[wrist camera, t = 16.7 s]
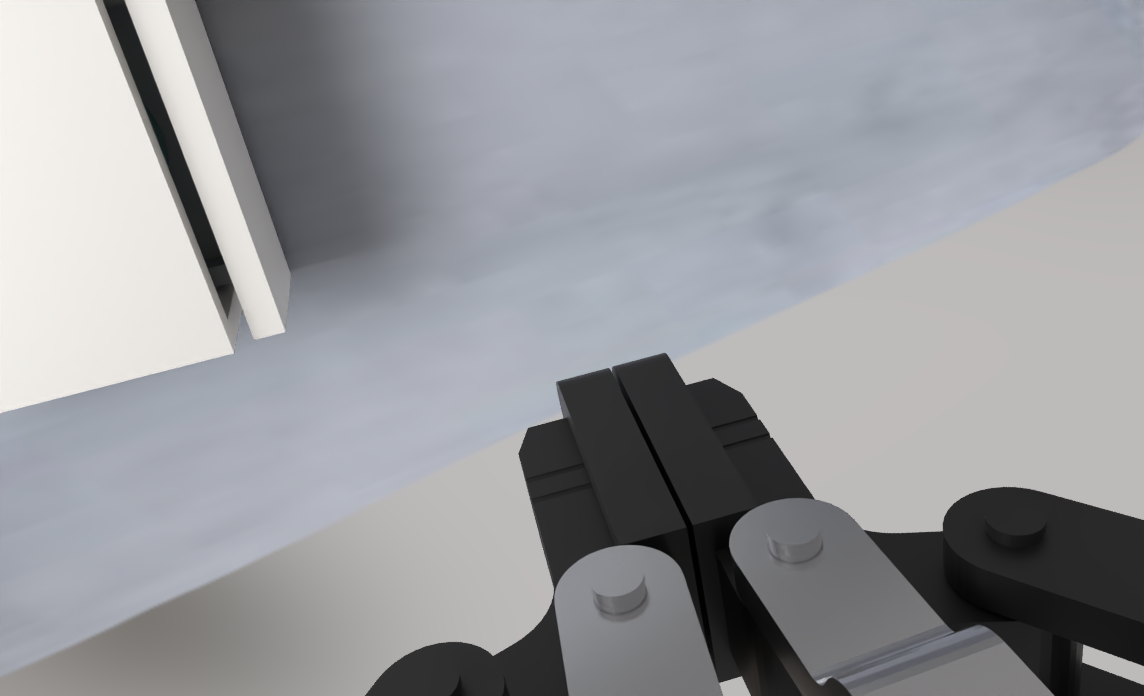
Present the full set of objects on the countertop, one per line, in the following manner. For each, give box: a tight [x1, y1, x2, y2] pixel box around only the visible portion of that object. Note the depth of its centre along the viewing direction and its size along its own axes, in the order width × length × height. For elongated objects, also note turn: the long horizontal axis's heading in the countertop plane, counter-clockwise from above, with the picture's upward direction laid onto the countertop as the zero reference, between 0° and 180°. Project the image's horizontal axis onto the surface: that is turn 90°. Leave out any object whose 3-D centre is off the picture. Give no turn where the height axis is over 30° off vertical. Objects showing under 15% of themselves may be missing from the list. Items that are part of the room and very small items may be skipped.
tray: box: [103, 0, 291, 340], centre depth 32 cm, size 13×12×5 cm
